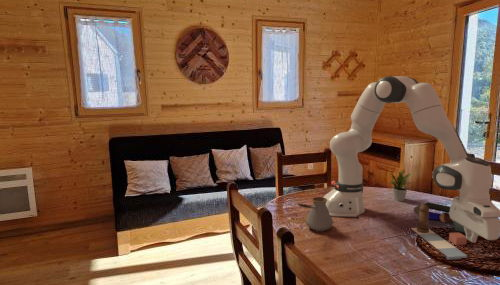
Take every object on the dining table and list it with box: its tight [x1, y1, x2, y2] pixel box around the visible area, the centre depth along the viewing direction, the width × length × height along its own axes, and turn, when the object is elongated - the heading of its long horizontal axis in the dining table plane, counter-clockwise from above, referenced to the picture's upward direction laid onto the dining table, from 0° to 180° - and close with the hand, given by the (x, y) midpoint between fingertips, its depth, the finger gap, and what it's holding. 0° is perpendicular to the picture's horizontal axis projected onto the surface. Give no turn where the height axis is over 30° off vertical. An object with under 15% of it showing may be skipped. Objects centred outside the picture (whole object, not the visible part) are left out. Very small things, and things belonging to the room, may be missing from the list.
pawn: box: [416, 205, 430, 233], centre depth 136 cm, size 4×4×11 cm
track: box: [410, 227, 468, 261], centre depth 128 cm, size 7×24×1 cm, turn 4°
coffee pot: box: [295, 196, 334, 232], centre depth 140 cm, size 21×12×15 cm, turn 135°
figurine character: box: [413, 202, 453, 224], centre depth 149 cm, size 7×8×15 cm
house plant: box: [388, 170, 413, 202], centre depth 174 cm, size 14×14×16 cm
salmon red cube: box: [448, 231, 467, 246], centre depth 126 cm, size 4×4×4 cm
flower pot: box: [452, 220, 465, 233], centre depth 136 cm, size 9×9×9 cm
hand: (470, 240), depth 120 cm, fingers closed
